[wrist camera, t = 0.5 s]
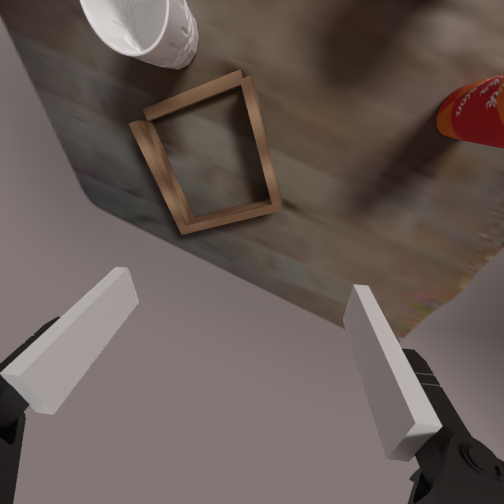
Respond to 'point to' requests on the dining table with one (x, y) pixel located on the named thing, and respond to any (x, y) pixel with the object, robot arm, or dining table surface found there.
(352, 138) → the dining table surface
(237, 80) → the bay
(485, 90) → the paper cup
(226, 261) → the dining table surface
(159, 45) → the white cup
